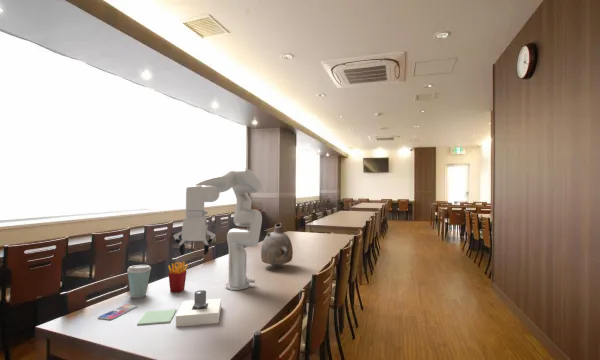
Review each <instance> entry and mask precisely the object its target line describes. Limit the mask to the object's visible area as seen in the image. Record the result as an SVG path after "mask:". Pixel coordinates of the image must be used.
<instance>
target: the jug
mask: <svg viewBox="0 0 600 360" xmlns="http://www.w3.org/2000/svg"><path fill="white" fill-rule="evenodd" d="M260 249H261V250H260V256H261V257H260V258H261V261H262V263H265V264H267V265H268V264H269V265H271V266H273V267H274V268H279V267H281V266H283V265H286V264H287V263H290V262H292V261H293V253H294V252H293V245H292V241H291V239H290V236H288V234H286V233H284V232H283V225H282V222H279V223H275V224H274V228H273V231H271V232H267V233H266V235H265V237H264V239H263V241H262V244H261V248H260Z"/></svg>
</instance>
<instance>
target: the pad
mask: <svg viewBox="0 0 600 360" xmlns="http://www.w3.org/2000/svg"><path fill="white" fill-rule="evenodd" d="M176 311H177V309H163V310H148V311H147V310H146V311H145V313H144V314H143V316H142V317H141V318H140V319H139V320H138V322H137V323H136V325H137V326H145V325H156V324H157V325H158V324H169V323H170V324H171V322H172V319H173V318H174V316H175V314H176Z"/></svg>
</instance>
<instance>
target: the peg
mask: <svg viewBox="0 0 600 360" xmlns="http://www.w3.org/2000/svg"><path fill="white" fill-rule="evenodd" d="M206 299H207V291H206V290H201V289H200V290H197V291H194V299H193V300H194V310H198V309H206Z"/></svg>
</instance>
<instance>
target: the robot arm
mask: <svg viewBox="0 0 600 360" xmlns="http://www.w3.org/2000/svg"><path fill="white" fill-rule="evenodd" d="M231 189H232V190H233V192H234V196H235V198H236V204H235V210H234V215H233V224H234V225H235V226H238V227H235V228H231V229H229V230H228V232H227V234H226V240H227V246H228V282H227V283H226V284H225V288H226V289H227V290H232V291H239V290H240V291H241V290H244V289H247V288H249V287H250V283H251V284H253V283H256V280H255V279H256V278H248V276H247V255H248V254H247V251H246V249H245V247H248V248H249V247H250V248H251V247H252V248H253V247H255V246H257V245H258V243H259V241H260V235H261V229H262V223H263V215H262V212H261V211H259V210H258V209H252V203H253V202H252V199H251V197H250V196H249V194H251V193H252V194H256V193H259V192H260V191H261V189H262V181H261V180H260V178H259V177H258V176H257V175H256V174H255V173H254V172H253V171H252V170H250V169H249V168H231V169H228V170H227V171H225V172H223V173H221V174H219V175H218V176H214V177H211V178H207V179H204V180H201V181H198V182H196V183H195V184H192V185H188V186H187V187H186V189H185V190H186V191H185V217H184V218H183V221H182V227H181V231H178V232H177V233H175V234H173V238H174V240H175V242H176V243H177V244H178V246H179V253H180V256H183V255H184V254H185V252H186V245H185V243H186V242H202V243H204V245H203V247H204V248H203V251H204V252H203V254H204V255H205V256H206V255H208V253H209V252H210V250H209V249H210V248H209V247H210V244H211V243H213V241H214V239H215V237H216V233H213V232H212V231H209V230H208V220H207V217H206V215H208V214H209V213H208V211H206V210H205V203H214V202H216V201H217V200H218V199H219V197H220V195H221V193H224V192H227V191H229V190H231ZM241 227H243V228H241ZM244 227H245V228H244ZM246 227H247V228H246ZM248 227H249V228H248ZM179 236H181V239H180V238H179ZM208 236H210V238H209V239H208Z"/></svg>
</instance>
